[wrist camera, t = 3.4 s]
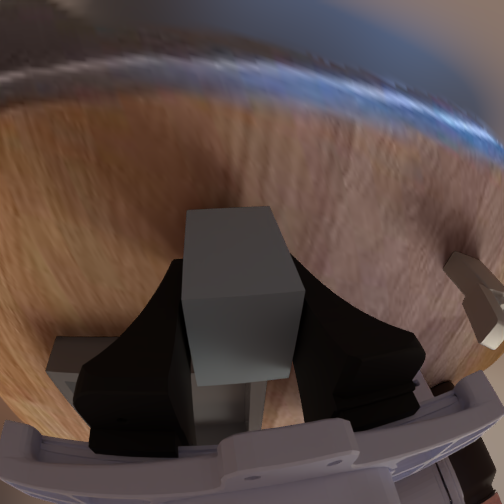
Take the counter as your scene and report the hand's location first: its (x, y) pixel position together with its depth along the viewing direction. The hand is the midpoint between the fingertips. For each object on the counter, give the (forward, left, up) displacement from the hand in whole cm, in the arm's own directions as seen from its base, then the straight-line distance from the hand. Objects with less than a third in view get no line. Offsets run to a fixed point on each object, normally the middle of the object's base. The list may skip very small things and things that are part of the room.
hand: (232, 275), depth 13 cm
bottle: (-26, +26, -3) cm, 37 cm away
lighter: (-16, +3, -3) cm, 17 cm away
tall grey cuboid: (0, 0, -2) cm, 2 cm away
